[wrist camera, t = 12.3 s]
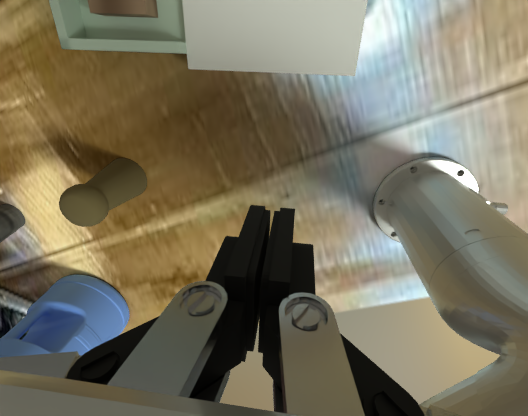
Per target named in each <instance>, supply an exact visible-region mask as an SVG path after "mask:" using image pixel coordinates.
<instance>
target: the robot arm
mask: <svg viewBox="0 0 528 416" xmlns="http://www.w3.org/2000/svg"><path fill="white" fill-rule="evenodd" d="M411 167H413V168H412V169H410V168H411ZM381 199H382V200H381ZM379 200H381V201H379ZM507 210H508V206H507V205H506V204H505V203H494V202H493V203H490V202H489V201H487V200H486V199H485V198H484V197H482V196H481V195H480V194H479V188H478V183H477V181H476V179H475V177H474V176H473V174H472V173H471V172H470V171H469V170H468V169H467V168H465V167H464V166H462V165H461V164H459V163H457V162H455V161H453V160H450V159H446V158H439V157H429V158H421V159H417V160H414V161H411V162H408V163H406V164H404V165H402V166H400V167H399V168H397V169H396V170H394V171H393V172H392V173H391V174H389V175H388V176H387V177H386V178H385V180H384V181H383V182H382V183H381V185H380V186H379V188H378V190H377V192H376V195H375V198H374V203H373V211H374V217H375V219H376V222H377V224H378V226H379V227H380V229H381V230H382V231H383V232H384V233H385V234H386V235H387V236H388V237H390V238H391V239H393V240H395V241H397V242H400V243H401V244H402V246H403V248H404V249H405V251H406V253H407V255H408V257H409V259H410V261H411V263H412V264H413V266H414V268H415V270H416V272H417V274H418V276H419V278H420V279H421V281H422V283H423V285H424V287H425V289H426V291H427V293H428V294H429V296H430V298H431V300H432V302H433V304H434V305H435V307H436V309H437V311H438V313H439V314H440V316H441V317H442V319H443V320H444V321H445V322H446V323H447V325H448V326H449V327H450V328H452V329H453V330H454V331H455V332H456V333H457V334H459V335H460V336H462V337H463V338H465V339H467V340H469V341H470V342H472V343H474V344H476V345H478V346H480V347H482V348H484V349H487V350H489V351H491V352H494V353H496V354H499V355H500V357H499V358H498V359H497V360H496V361H495V362H493V363H491V364H490V365H488V366H486V367H485V368H483V369H481V370H480V371H478V372H477V374H475V375H473V376H471V377H469V378H467V379H465V380H463V381H461V382H460V383H458V384H456V385H454V386H452V387H450V388H448V389H446V390H445V391H443V392H441V393H439V394H437V395H435V396H433V397H432V398H430V399H428V400H427V401H424V402H423V403H421V404H420V405H418V403H417V402H416V401H415V400H414V399H413V397H412V396H411V395H410V394H409V393H408V392H407V391H406V390H404V389H403V388H402V387H401V386H400V385H399V384H398V383H396V382H395V381H394V380H393V379H392V378H390V377H389V376H388V375H387V374H386V373H385V372H384V371H382V369H380V368H379V367H378V366H377V365H376V364H375V363H374V362H372V361H371V360H370V359H369V358H368V357H367V356H366V355H364V354H363V353H362V352H361V351H360V350H359V349H358V348H356V347H355V346H354V345H353V344H352V343H351V342H350V341H348V340H347V339H346V338H345V337H344V336H343V335H342V334H340V332H339V329H338V325H337V322H336V319H335V315H334V312H333V310H332V308H331V306H330V305H329V304H328V303H327V302H326V301H325V300H323V299H322V298H320V297H319V296H316V295H315V274H314V253H313V245H311V244H301V243H293V229H294V214H295V209H290V208H280V211H274V216H273V221H272V226H271V231H270V210H265V206H256V205H251V206H250V208H249V211H248V213H247V216H246V219H245V221H244V224H243V227H242V229H241V232H240V235H239V237H231V236H226V237H225V239H224V241H223V243H222V245H221V248H220V250H219V252H218V254H217V256H216V259H215V261H214V263H213V265H212V267H211V270H210V272H209V274H208V276H207V279H206V281H199V282H195V283H191V284H189V285H187V286H185V287H184V288H182V289H181V290H180V291H179V292H178V293H177V294H176V295H175V297H174V298H173V299H172V301H171V302H170V303H169V304H168V306H167V307H166V308H165V310H164V311H163V312H162V314H161V315H160V316H159V317H157V318H154V319H152V320H150V321H148V322H146V323H144V324H142V325H140V326H138V327H136V328H134V329H131V330H129V331H127V332H125V333H123V334H121V335H119V336H117V337H115V338H113V339H111V340H109V341H106V342H104V343H102V344H100V345H98V346H96V347H94V348H93V349H91V350H89V351H88V352H86V353H85V354H83V355H79V354H78V351H75V352H62V353H50V354H37V355H24V356H12V357H1V358H0V416H528V234H527V233H526V232H525V231H523V230H522V229H521V228H519V227H518V226H517V225H515V224H514V223H513V222H512V221H510V220H509V219H508V218H506V217H505V216H504V215H503V214H506V212H507ZM269 231H270V236H269ZM259 316H260V317H259ZM258 322H259V345H258V352H261V353H263V367H264V368H265V370H266V371H267V372H268V373H269V375H270V376H271V377H272V379H273V399H274V400H273V401H274V412H273V411H267V410H260V409H254V408H248V407H242V406H235V405H229V404H223V403H219V402H220V400H221V397H222V394H223V392H224V389H225V387H226V384H227V382H228V379H229V375H230V370H231V369H232V368H234V367H235V366H237V365H238V364H240V363H241V361H244V362H245V359H246V354H247V351H253V350H254V345H255V339H256V333H257V328H258Z"/></svg>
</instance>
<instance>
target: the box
mask: <svg viewBox="0 0 528 416" xmlns="http://www.w3.org/2000/svg"><path fill="white" fill-rule="evenodd" d="M156 1H157V10H158V18H145V17H115V16H103V15H98V14H94V13H90V9H89V5H88V0H49V3H50V6H51V10H52V14H53V18H54V21H55V25H56V29H57V33H58V36H59V40H60V44H61V47H62V49H72V50H91V51H119V52H147V53H174V54H187V49H186V37H185V26H184V14H183V2H182V0H156Z"/></svg>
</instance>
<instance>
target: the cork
mask: <svg viewBox="0 0 528 416" xmlns="http://www.w3.org/2000/svg"><path fill="white" fill-rule="evenodd" d="M146 186H147V178H146V175H145V172H144V171H143V169H142V168H141V167H140V166H139V165H138V164H137V163H136V162H134V161H132V160H130V159H126V158H118V159H116V160H114V161H112V162H111V163H110V164H109V165H107V166H106V167H105V168H104V169H103V170H101V171H100V172H99V173H98V174H96V175H95V176H94V177H93V178H92V179H90V180H89V181H88V182H87V183H85V184H78V185H74V186H72V187H70V188H68V189H66V190H65V191H64V192H63V194H62V195H61V197H60V201H59V206H60V210H61V212H62V214H63V215H64V216H65V217H66V219H68V220H69V221H70V222H71V223H73V224H75V225H78V226H82V227H85V226H93V225H96V224H98V223H100V222H101V221H102V220H103V219H104V218H105V217H106V216H107V214H108V211H109V210H111V209H113V208H115V207H117V206H119V205H120V204H122V203H124V202H126V201H128V200H130V199H132V198H134V197H136V196H138V195H140V194H142V193H143V192H144V191H145V189H146Z"/></svg>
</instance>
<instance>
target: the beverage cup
mask: <svg viewBox="0 0 528 416" xmlns="http://www.w3.org/2000/svg"><path fill="white" fill-rule="evenodd" d="M24 224H25V218H24V216H23V214H22V213H21V212H20V211H19V210H18V209H17V208H16V207H14V206H12V205H8V204H4V205H1V206H0V242H2V241H3V240H4V239H6V238H7V237H9V236H10V235H11V234H13V233H14V232H16V231H17V230H18V229H19V228H20V227H22V226H23V225H24Z"/></svg>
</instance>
